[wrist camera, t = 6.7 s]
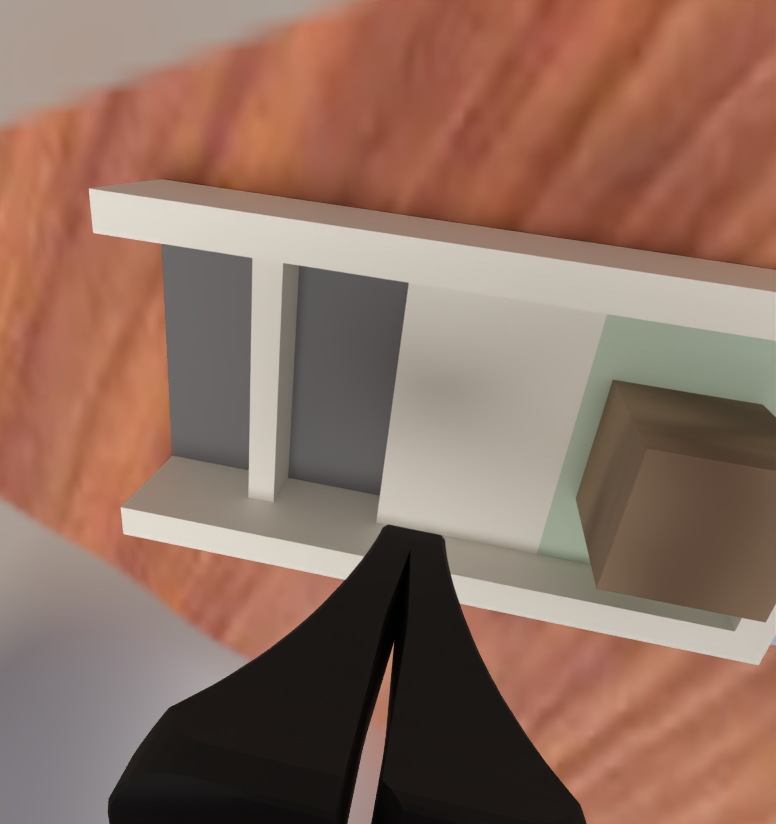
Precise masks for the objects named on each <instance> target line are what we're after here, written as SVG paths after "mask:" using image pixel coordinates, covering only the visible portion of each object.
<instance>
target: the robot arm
mask: <svg viewBox="0 0 776 824" xmlns="http://www.w3.org/2000/svg"><path fill="white" fill-rule="evenodd" d="M393 643H394V650H393V661H392V672H391V683H390V695H389V706H388V717H387V728H386V738H385V746H384V754H383V760H382V766H381V771H380V777H379V783H378V789H377V794H376V800H375V806H374V811H373V817H372V822H371V824H586V820H585V817H584V814H583V811H582V808H581V805H580V804H579V803H578V801H577V800H576V799H575V798H574V797H573V795H572V794H571V793H570V792H569V790H568V789H567V788H566V787H565V786H564V784H563V783H562V782H561V781H560V780H559V778H558V777H557V776H556V775H555V774H554V772H553V771H552V770H551V768H550V767H549V766H548V765H547V763H546V762H545V761H544V759H543V758H542V756H541V755H540V754H539V752H538V751H537V749H536V748H535V747H534V745H533V744H532V742H531V741H530V740H529V738H528V737H527V735H526V734H525V732H524V731H523V729H522V727H521V726H520V724H519V723H518V721H517V720H516V718H515V716H514V715H513V713H512V712H511V710H510V709H509V707H508V705H507V704H506V702H505V701H504V699H503V697H502V696H501V694H500V692H499V690H498V688H497V687H496V685H495V683H494V681H493V679H492V678H491V676H490V674H489V672H488V670H487V668H486V666H485V664H484V662H483V660H482V658H481V656H480V654H479V651H478V649H477V647H476V645H475V642H474V640H473V638H472V635H471V633H470V630H469V628H468V625H467V623H466V620H465V618H464V615H463V612H462V609H461V606H460V603H459V600H458V597H457V594H456V591H455V588H454V584H453V581H452V577H451V573H450V569H449V564H448V559H447V553H446V544H445V539H444V538H443V536H442V535H439V534H434V533H429V532H424V531H419V530H414V529H409V528H404V527H399V526H394V525H389V524H388V525H386V526H384V527H383V528H382V530H381V532H380V534H379V535H378V537H377V539H376V540H375V542H374V543H373V545H372V546H371V548H370V549H369V551H368V552H367V553H366V555H365V556H364V557H363V559H362V560H361V561H360V563H359V564H358V565H357V566H356V567H355V569H354V570H353V571H352V572H351V574H350V575H349V576H348V577H347V578H346V580H345V581H344V582H343V583H342V584H341V585H340V586H339V587H338V588H337V589H336V590H335V591H334V592H333V593H332V595H331V596H330V597H329V598H328V599H327V600H326V601H325V602H324V603H323V604H322V605H321V606H320V607H319V608H318V609H317V610H316V611H315V612H314V613H312V614H311V615H310V616H309V617H308V618H307V619H306V620H305V621H303V622H302V623H301V624H300V625H299V626H298V627H297V628H295V629H294V630H293V631H292V632H290V633H289V634H288V635H287V636H285V637H284V638H283V639H281V640H280V641H279V642H278V643H276V644H275V645H274V646H272V647H271V648H270V649H268V650H267V651H266V652H264V653H263V654H261V655H260V656H259V657H257V658H256V659H254V660H252V661H251V662H249V663H248V664H246V665H245V666H243V667H241V668H240V669H238V670H237V671H235V672H234V673H232V674H230V675H229V676H227V677H226V678H224V679H222V680H221V681H219V682H217V683H216V684H214V685H212V686H210V687H208V688H206V689H204V690H202V691H200V692H199V693H197V694H195V695H193V696H191V697H189V698H187V699H185V700H183V701H181V702H179V703H178V704H176V705H173V706H171V707H170V708H169V709H168V710H167V711H166V712H165V713H164V714H163V716H162V717H161V718H160V719H159V721H158V722H157V723H156V725H155V726H154V727H153V728H152V730H151V731H150V732H149V734H148V735H147V736H146V738H145V739H144V741H143V742H142V743H141V744H140V746H139V747H138V749H137V750H136V752H135V753H134V755H133V756H132V758H131V760H130V762H129V763H128V766H127V767H126V769H125V771H124V773H123V774H122V776H121V778H120V780H119V781H118V783H117V785H116V787H115V788H114V790H113V792H112V794H111V796H110V797H109V801H108V817H109V823H110V824H347V823H348V818H349V813H350V807H351V803H352V798H353V793H354V788H355V784H356V778H357V773H358V769H359V764H360V759H361V754H362V750H363V746H364V742H365V738H366V734H367V731H368V727H369V724H370V721H371V717H372V714H373V710H374V707H375V704H376V700H377V697H378V694H379V690H380V687H381V684H382V680H383V677H384V674H385V670H386V667H387V663H388V660H389V657H390V653H391V650H392V647H393ZM771 645H776V635H775V637H774V639H773V641H772V642H771Z"/></svg>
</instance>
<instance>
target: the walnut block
mask: <svg viewBox="0 0 776 824" xmlns="http://www.w3.org/2000/svg"><path fill="white" fill-rule="evenodd" d="M576 503H577V507H578V512H579V516H580V520H581V524H582V529H583V533H584V537H585V542H586V546H587V550H588V555H589V559H590V563H591V568H592V572H593V576H594V581H595V585H596V589H599V590H604V591H609V592H614V593H619V594H624V595H629V596H634V597H639V598H644V599H649V600H654V601H659V602H664V603H669V604H675V605H680V606H685V607H690V608H695V609H700V610H705V611H710V612H715V613H720V614H725V615H730V616H735V617H740V618H745V619H750V620H755V621H760V622H765V623H766V621H767V619H768V617H769V616H770V614H771V612H772V610H773V608H774V606H775V605H776V417H775V416H774V415H773V414H772V413H771V412H770V411H769V410H768V409H767V408H766V407H765V406H764V405H762V404H756V403H750V402H744V401H738V400H732V399H726V398H720V397H714V396H708V395H702V394H696V393H690V392H684V391H678V390H672V389H666V388H660V387H654V386H648V385H642V384H636V383H630V382H624V381H618V380H613V381H612V384H611V387H610V390H609V393H608V397H607V400H606V403H605V406H604V409H603V413H602V416H601V419H600V422H599V426H598V429H597V432H596V435H595V438H594V442H593V445H592V448H591V451H590V454H589V458H588V461H587V464H586V467H585V470H584V474H583V477H582V480H581V483H580V486H579V490H578V493H577V496H576Z"/></svg>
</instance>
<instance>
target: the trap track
mask: <svg viewBox="0 0 776 824" xmlns="http://www.w3.org/2000/svg"><path fill="white" fill-rule="evenodd" d="M89 195H90V205H91V215H92V225H93V233H97V234H104V235H110V236H116V237H123V238H129V239H135V240H142V241H148V242H154V243H161V244H162V260H163V280H164V300H165V320H166V339H167V359H168V379H169V399H170V419H171V439H172V456H171V457H170V458H169V459H168V460H167V461H166V462H165V463H164V464H163V465H162V466H161V467H160V468H159V469H158V470H157V471H156V472H155V473H154V474H153V475H152V476H151V477H150V478H149V479H148V480H147V481H146V482H145V483H144V484H143V485H142V486H141V487H140V488H139V489H138V490H137V491H136V492H135V493H134V494H133V495H132V496H131V497H130V498H129V499H128V500H127V501H126V502H125V503H124V504H123V505H122V506H121V514H122V524H123V534H126V535H131V536H136V537H141V538H146V539H151V540H155V541H160V542H165V543H170V544H175V545H180V546H184V547H189V548H194V549H199V550H204V551H209V552H213V553H218V554H223V555H228V556H233V557H238V558H242V559H247V560H252V561H257V562H262V563H267V564H271V565H276V566H281V567H286V568H291V569H296V570H300V571H305V572H310V573H315V574H320V575H325V576H329V577H334V578H339V579H344V580H346V578H347V577H348V576H349V575H350V574H351V572H352V571H353V570H354V569H355V567H356V566H357V565H358V564H359V563H360V561H361V560H362V559H363V557H364V556H365V555H366V553H367V552H368V551H369V549H370V548H371V546H372V545H373V543H374V542H375V540H376V539H377V537H378V535H379V534H380V532H381V530H382V528H383V527H384V526H386V525H388V524H389V525H394V526H399V527H404V528H409V529H414V530H419V531H424V532H429V533H434V534H439V535H442V536H443V538H444V539H445V544H446V553H447V559H448V564H449V569H450V573H451V577H452V581H453V584H454V588H455V591H456V594H457V597H458V600H459V603H460V604H465V605H470V606H474V607H479V608H484V609H489V610H494V611H499V612H503V613H508V614H513V615H518V616H523V617H528V618H532V619H537V620H542V621H547V622H552V623H557V624H561V625H566V626H571V627H576V628H581V629H586V630H590V631H595V632H600V633H605V634H610V635H615V636H619V637H624V638H629V639H634V640H639V641H644V642H648V643H653V644H658V645H663V646H668V647H673V648H677V649H682V650H687V651H692V652H697V653H702V654H706V655H711V656H716V657H721V658H726V659H731V660H735V661H740V662H745V663H750V664H755V665H759V664H760V662H761V660H762V658H763V657H764V655H765V653H766V651H767V649H768V648H769V646H770V644H771V642H772V641H773V639H774V637H775V635H776V605H775V606H774V608H773V610H772V612H771V614H770V616H769V617H768V619H767V621H766V623H765V622H760V621H755V620H750V619H745V618H740V617H735V616H730V615H725V614H720V613H715V612H710V611H705V610H700V609H695V608H690V607H685V606H680V605H675V604H669V603H664V602H659V601H654V600H649V599H644V598H639V597H634V596H629V595H624V594H619V593H614V592H609V591H604V590H599V589H596V585H595V581H594V576H593V572H592V568H591V563H590V559H589V555H588V550H587V546H586V542H585V537H584V533H583V529H582V524H581V520H580V516H579V512H578V507H577V503H576V496H577V493H578V490H579V486H580V483H581V480H582V477H583V474H584V470H585V467H586V464H587V461H588V458H589V454H590V451H591V448H592V445H593V442H594V438H595V435H596V432H597V429H598V426H599V422H600V419H601V416H602V413H603V409H604V406H605V403H606V400H607V397H608V393H609V390H610V387H611V384H612V381H613V380H618V381H624V382H630V383H636V384H642V385H648V386H654V387H660V388H666V389H672V390H678V391H684V392H690V393H696V394H702V395H708V396H714V397H720V398H726V399H732V400H738V401H744V402H750V403H756V404H762V405H764V406H765V407H766V408H767V409H768V410H769V411H770V412H771V413H772V414H773V415H774V416H775V417H776V270H774V269H767V268H760V267H753V266H747V265H740V264H733V263H726V262H720V261H713V260H706V259H699V258H692V257H686V256H679V255H672V254H665V253H659V252H652V251H645V250H638V249H632V248H625V247H618V246H611V245H604V244H598V243H591V242H584V241H577V240H571V239H564V238H557V237H550V236H543V235H537V234H530V233H523V232H516V231H510V230H503V229H496V228H489V227H483V226H476V225H469V224H462V223H455V222H449V221H442V220H435V219H428V218H422V217H415V216H408V215H401V214H394V213H388V212H381V211H374V210H367V209H361V208H354V207H347V206H340V205H334V204H327V203H320V202H313V201H306V200H300V199H293V198H286V197H279V196H273V195H266V194H259V193H252V192H245V191H239V190H232V189H225V188H218V187H212V186H205V185H198V184H191V183H185V182H178V181H171V180H164V179H158V180H151V181H143V182H135V183H128V184H120V185H112V186H105V187H97V188H89Z"/></svg>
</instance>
